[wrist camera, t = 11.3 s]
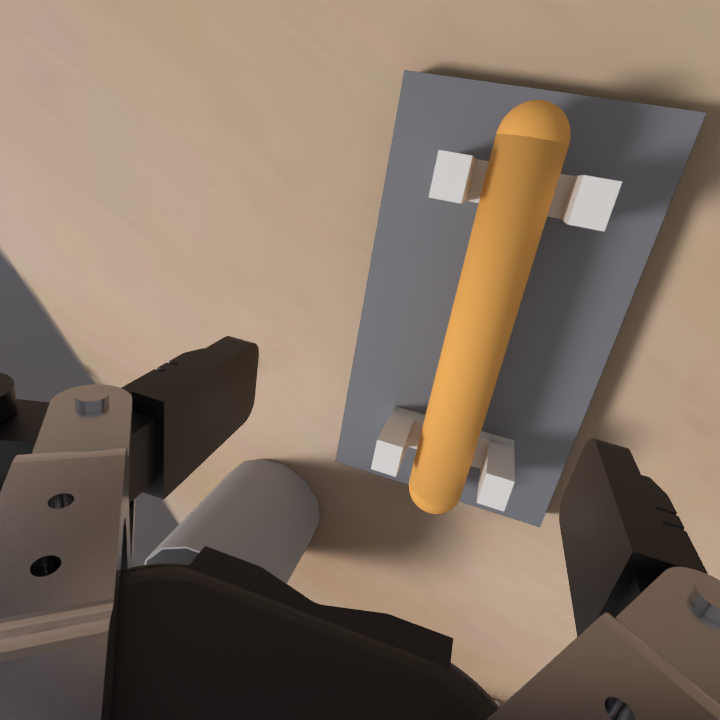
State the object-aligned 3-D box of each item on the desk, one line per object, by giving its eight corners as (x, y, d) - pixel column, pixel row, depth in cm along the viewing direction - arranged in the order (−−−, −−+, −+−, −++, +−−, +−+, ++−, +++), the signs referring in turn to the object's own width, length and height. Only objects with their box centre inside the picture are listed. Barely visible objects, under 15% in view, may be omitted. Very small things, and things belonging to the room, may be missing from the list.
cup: (338, 534, 38) (284, 644, 29) (260, 557, 41) (189, 662, 32) (284, 445, 36) (209, 531, 27) (207, 475, 40) (118, 562, 31)
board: (342, 450, 35) (311, 499, 29) (410, 76, 26) (383, 47, 20) (538, 512, 32) (544, 579, 27) (694, 116, 23) (752, 96, 17)
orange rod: (458, 500, 31) (451, 533, 28) (409, 484, 31) (398, 514, 28) (577, 111, 22) (585, 99, 19) (506, 100, 23) (504, 88, 20)
